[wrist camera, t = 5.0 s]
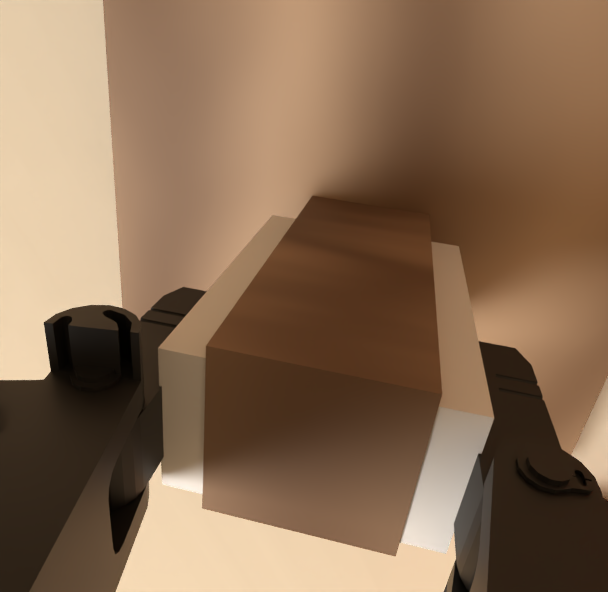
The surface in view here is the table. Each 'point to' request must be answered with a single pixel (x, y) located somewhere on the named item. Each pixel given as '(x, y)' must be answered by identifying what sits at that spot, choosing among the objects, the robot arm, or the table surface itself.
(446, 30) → the lid
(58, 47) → the table surface
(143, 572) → the table surface
